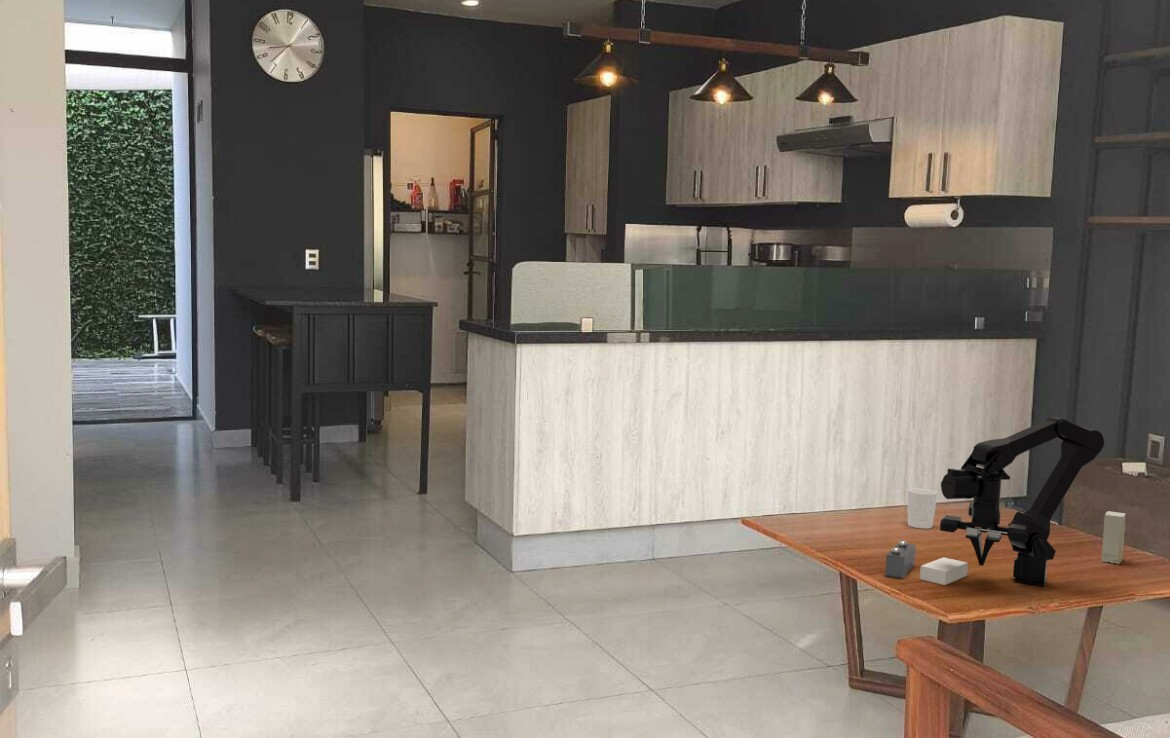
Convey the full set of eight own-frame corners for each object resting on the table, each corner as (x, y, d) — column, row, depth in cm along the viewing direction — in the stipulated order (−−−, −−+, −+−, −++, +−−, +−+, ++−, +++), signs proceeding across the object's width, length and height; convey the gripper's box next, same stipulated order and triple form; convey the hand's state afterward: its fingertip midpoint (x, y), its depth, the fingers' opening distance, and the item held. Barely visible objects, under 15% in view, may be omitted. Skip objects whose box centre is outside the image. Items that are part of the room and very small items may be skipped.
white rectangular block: (966, 577, 257) (967, 562, 256) (944, 586, 248) (945, 571, 248) (942, 571, 261) (943, 557, 260) (919, 580, 252) (920, 565, 252)
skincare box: (1119, 564, 273) (1123, 517, 272) (1100, 561, 275) (1104, 514, 274) (1122, 559, 278) (1126, 512, 277) (1103, 556, 281) (1107, 510, 279)
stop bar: (914, 565, 264) (916, 540, 264) (902, 578, 252) (904, 553, 251) (897, 562, 266) (899, 538, 265) (885, 575, 254) (886, 550, 253)
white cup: (901, 522, 311) (903, 488, 310) (927, 523, 311) (930, 488, 311) (912, 529, 303) (914, 493, 302) (939, 529, 304) (942, 494, 303)
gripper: (1033, 497, 252) (1028, 563, 253) (949, 487, 260) (945, 551, 262) (1029, 506, 242) (1023, 575, 243) (941, 495, 250) (937, 561, 252)
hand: (981, 565), depth 250 cm, fingers closed
